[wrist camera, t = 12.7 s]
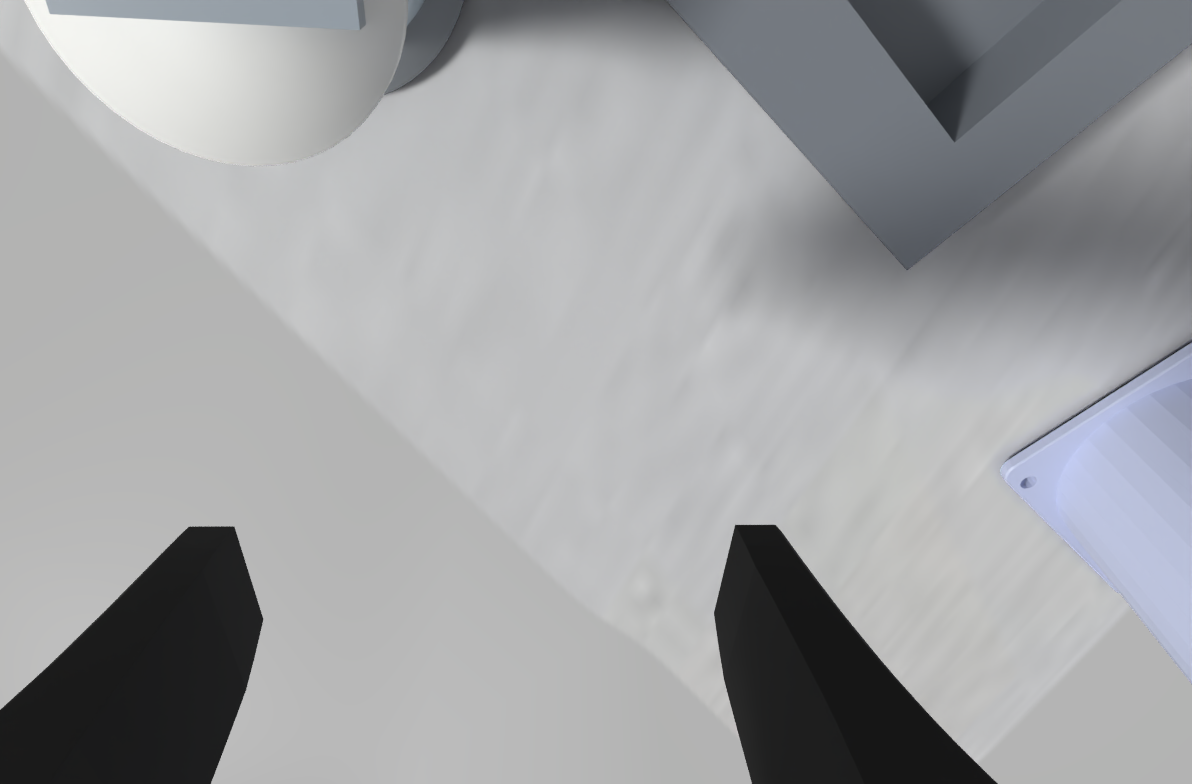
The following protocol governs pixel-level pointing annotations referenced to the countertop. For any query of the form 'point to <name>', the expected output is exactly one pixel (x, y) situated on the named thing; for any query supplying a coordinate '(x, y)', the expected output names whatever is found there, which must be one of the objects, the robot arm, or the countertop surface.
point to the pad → (425, 39)
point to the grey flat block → (935, 91)
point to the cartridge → (233, 68)
